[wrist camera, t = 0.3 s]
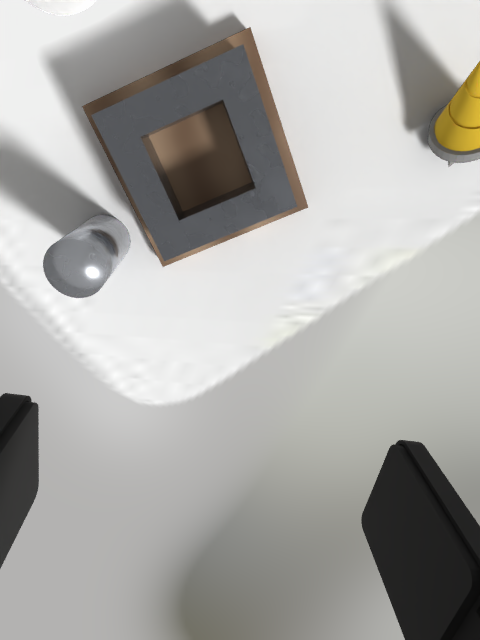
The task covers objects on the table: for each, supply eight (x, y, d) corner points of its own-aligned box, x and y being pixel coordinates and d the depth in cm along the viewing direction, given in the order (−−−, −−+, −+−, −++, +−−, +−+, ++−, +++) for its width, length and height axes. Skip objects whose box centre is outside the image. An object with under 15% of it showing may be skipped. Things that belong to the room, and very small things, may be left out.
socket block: (240, 54, 31) (243, 44, 27) (289, 198, 36) (297, 206, 32) (105, 116, 32) (91, 115, 29) (169, 248, 37) (164, 261, 33)
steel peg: (115, 207, 37) (86, 229, 29) (138, 251, 38) (117, 284, 30) (72, 226, 37) (30, 253, 29) (97, 269, 39) (64, 306, 31)
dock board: (248, 31, 32) (250, 27, 30) (304, 204, 37) (308, 207, 36) (87, 107, 33) (81, 106, 32) (164, 262, 39) (162, 266, 38)
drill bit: (414, 173, 37) (423, 85, 28) (441, 125, 38) (458, 22, 29) (476, 190, 35) (507, 100, 26) (504, 139, 35) (544, 33, 26)
